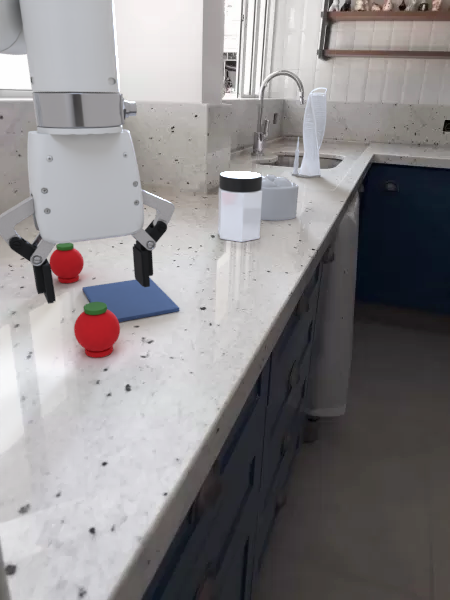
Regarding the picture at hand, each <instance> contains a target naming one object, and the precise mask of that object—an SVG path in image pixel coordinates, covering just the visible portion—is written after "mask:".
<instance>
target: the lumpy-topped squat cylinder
mask: <svg viewBox="0 0 450 600" xmlns="http://www.w3.org/2000/svg"><path fill="white" fill-rule="evenodd" d="M261 191H262V206H261V221H288V220H293V219H295V218H296V217H297V209H298V196H299V185H298V184H296V183H295V182H292V181H290V179H289V178H287V177H285V176H276V175H275V174H266V175H262V187H261Z"/></svg>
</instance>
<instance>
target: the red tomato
mask: <svg viewBox="0 0 450 600" xmlns="http://www.w3.org/2000/svg"><path fill="white" fill-rule="evenodd" d="M55 247H56V249H54V251H53V252H52V253H51V255H50V258H49V264H50V266H51V272H52V274H54V275H55V276H57V281H58V282H59V283H61V284H72V283H76V282H78V281H79V280H80V274H81V273H82V271H83V268H84V264H85V262H84V258H83V256H82V254H81V252H80V251H79V250H78V249H76V248H75V245H74V243H73V242H71V243H60V244H57V243H56V245H55Z"/></svg>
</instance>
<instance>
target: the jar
mask: <svg viewBox="0 0 450 600" xmlns="http://www.w3.org/2000/svg"><path fill="white" fill-rule="evenodd" d="M262 176H263V175H262V174H260V173H257V172H251V171H240V170H239V171H235V170H234V171H224V172H221V173H219V177H218V178H219V180H218V185H219V186H218V208H217V209H218V213H217V233H218V234H217V235H218V236H219V239H220V240H224V241H230V242H237V243H244V242H249V241H254V240H259V239H260V237H261V221H262V220H261V206H262V191H261V187H262Z"/></svg>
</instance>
